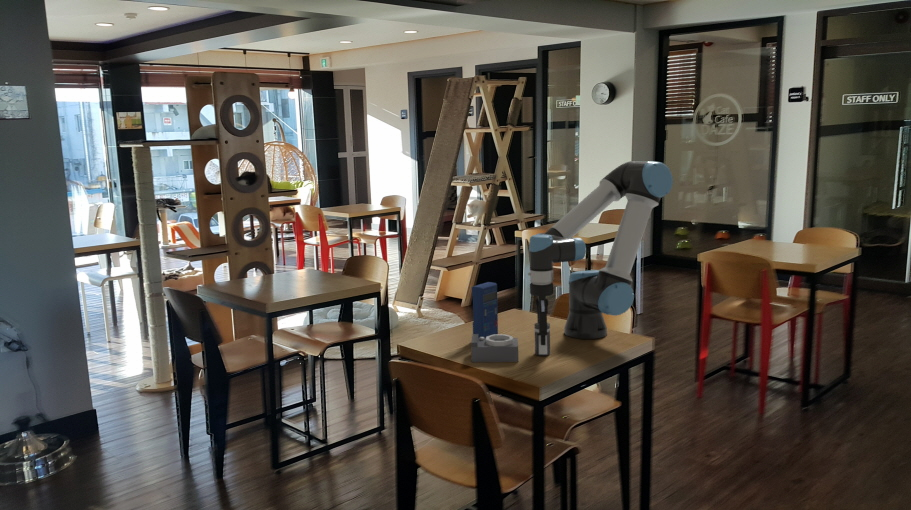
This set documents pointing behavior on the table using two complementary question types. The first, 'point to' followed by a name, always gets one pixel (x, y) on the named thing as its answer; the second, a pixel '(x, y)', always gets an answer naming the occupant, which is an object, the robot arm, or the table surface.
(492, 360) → the camera body
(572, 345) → the table surface
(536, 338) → the lens
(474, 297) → the electronic device
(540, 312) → the robot arm
